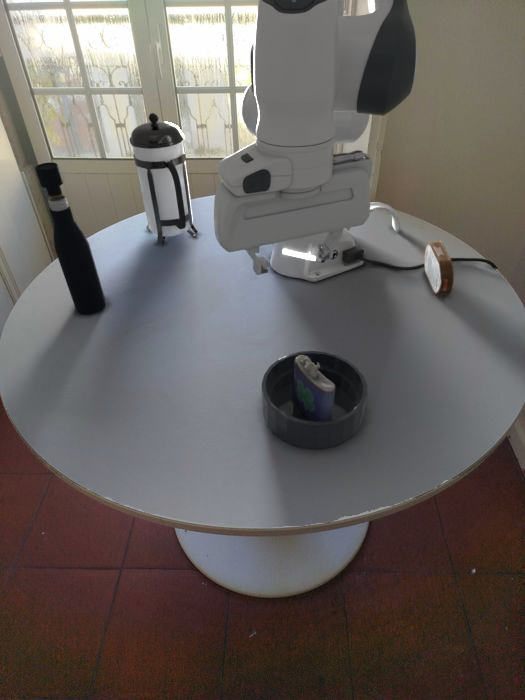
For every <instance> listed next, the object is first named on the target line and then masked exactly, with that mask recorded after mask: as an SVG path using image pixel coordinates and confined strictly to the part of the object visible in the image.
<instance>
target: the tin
mask: <svg viewBox="0 0 525 700" xmlns="http://www.w3.org/2000/svg"><path fill="white" fill-rule="evenodd" d="M451 258H452V257H451V256H450V255H449V253H448V251H447V248H446V246H445V244H444V242H443V241H442V240H441V239H440V240H433V241H432V240H431V241H428V242H427V243H426V244H425V251H424V256H423V264H424V267H423V269H424V273H425V276H426V279H427V281H428V284H429V286H430V288H431V291H432V293H433V294H434V295H435V296H449V295H450V294H451V293H452V290H453V287H454V277H455V275H454V272H455V271H454V264H453V261H452V260H451Z"/></svg>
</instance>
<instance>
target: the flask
mask: <svg viewBox="0 0 525 700" xmlns="http://www.w3.org/2000/svg"><path fill="white" fill-rule="evenodd" d="M294 361H295V362H294V363H295V368H294V385H293V387H294V388H293V403H294V404H295V406H296V408H297V409H298V411H299V412H300V413H301V415H302V416H304V417H305V419H307V420H308V421H314V422H320V421H330V420H332V413H333V403H334V394H335V388H336V386H335V384H334V383H333V382H331V381H330V380H329V379H327V378H326V377H325V376H324V375H322V374H321V373H320V372H319V371H318V368H320V365H319V363H318V362H317V364H318V365H315V364H314V363H312V362H311V359H310V358H309V357H307V356H304V355H299V356H297V357H296V358H295V360H294Z"/></svg>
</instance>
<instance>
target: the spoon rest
mask: <svg viewBox="0 0 525 700" xmlns="http://www.w3.org/2000/svg"><path fill="white" fill-rule="evenodd" d="M375 211H383V212H386V213H388V214H389V215H390V216H391V218H392V219H391V221H392V222H391V224H392V225H391V226H392V228H393V229H394V231H395V232H400V231H401V222H400V217H399V215H397V213H396V211H395V209H394V208H393V207H392V206H391V205H389V204H387V203H384V202H380V201H372V202H371V201H370V213H373V212H375ZM352 228H353V227H350V228H346V229H347V230H348V231H350V230H351V229H352Z"/></svg>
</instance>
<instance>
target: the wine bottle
mask: <svg viewBox="0 0 525 700" xmlns="http://www.w3.org/2000/svg"><path fill="white" fill-rule="evenodd" d="M34 170H35V172H36V176H37V179H38V181H39V185H40V187H41V188H43V189H45V190H46V193H47V197H48V198H47V200H48V202H47V204H48V206H49V214H50V216H51V219H52V222H53V245H54V251H55V254H56V256H57V259H58V262H59V265H60V269H61V271H62V274H63V276H64V280H65V282H66V285H67V288H68V290H69V294H70V297H71V300H72V302H73V305H74V308H75V311H76V312H77V313H78V314H80V315H84V316H90V315H95V314H98V313H100V312H102V311H103V310H104V309H105V308H106V306H107V300H106V297H105V293H104V289H103V286H102V283H101V280H100V277H99V273H98V270H97V265H96V263H95V259H94V256H93V253H92V249H91V246H90V242H89V241H88V239H87V236H86V235H85V233H84V230H83V229H82V228H81V227H80V225H79V224H78V222H77V221H76V219H75V217H74V213H73V211H72V207H71V206H70V205H69V202H68V199H67V198H66V196H65V195H64V192H63V190H62V185H63V184H64V180H63V176H62V173H61V169H60V167H59V164H58V163H57V162H43V163H39V164H37V165H35V168H34Z"/></svg>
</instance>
